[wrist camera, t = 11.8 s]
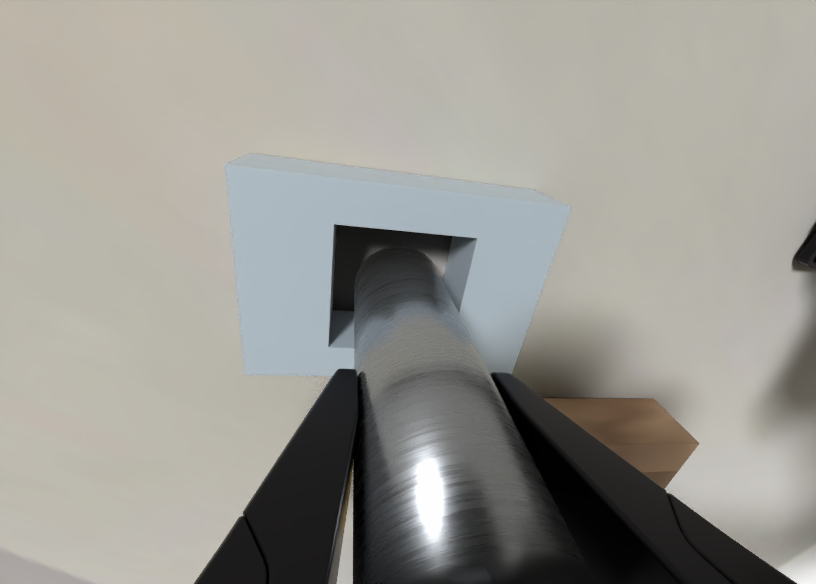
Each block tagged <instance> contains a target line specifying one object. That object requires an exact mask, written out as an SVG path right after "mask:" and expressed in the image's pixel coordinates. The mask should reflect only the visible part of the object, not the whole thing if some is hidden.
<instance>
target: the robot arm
mask: <svg viewBox="0 0 816 584" xmlns="http://www.w3.org/2000/svg"><path fill="white" fill-rule="evenodd" d="M798 262H799V263H800V264H802V265H805V266H808V267H811V268H816V232H815V234H814V235H813V237H812V238H811V239H810V241H809V242H808V244H807V245H806V246H805V248H804V249H803V251H802V252H801V254H800V255H799V257H798ZM490 375H491V377H492V379H493V381H494V383H495V385H496V387H497V389H498V391H499V393H500V395H501V397H502V399H503V401H504V403H505V405H506V407H507V409H508V411H509V413H510V415H511V417H512V419H513V421H514V423H515V425H516V427H517V429H518V431H519V433H520V435H521V437H522V438H523V440H524V442H525V444H526V446H527V448H528V450H529V452H530V454H531V456H532V458H533V460H534V462H535V464H536V466H537V468H538V470H539V472H540V474H541V476H542V478H543V480H544V482H545V484H546V486H547V488H548V490H549V492H550V494H551V496H552V498H553V500H554V502H555V503H556V505H557V507H558V509H559V511H560V513H561V515H562V517H563V519H564V521H565V523H566V525H567V527H568V529H569V531H570V533H571V535H572V537H573V539H574V541H575V543H576V545H577V547H578V549H579V551H580V553H581V555H582V557H583V559H584V561H585V563H586V565H587V567H588V568H589V570H590V573H591V575H592V577H593V584H797V583H795V582H794V581H793V580H791V579H790V578H788V577H787V576H785V575H784V574H782V573H781V572H779V571H778V570H776V569H775V568H773V567H772V566H771V565H769V564H768V563H766V562H765V561H763V560H762V559H760V558H759V557H758V556H756V555H755V554H753V553H752V552H750V551H749V550H747V549H746V548H745V547H743V546H742V545H740V544H739V543H737V542H736V541H734V540H733V539H732V538H730V537H729V536H727V535H726V534H725V533H723V532H722V531H720V530H719V529H718V528H716V527H715V526H714V525H712V524H711V523H710V522H708V521H707V520H705V519H704V518H703V517H701V516H700V515H699V514H697V513H696V512H694V511H693V510H692V509H690V508H689V507H688V506H686V505H685V504H684V503H682V502H681V501H680V500H678V499H677V498H676V497H674V496H673V495H672V494H670V493H667V492H666V490H665V489H664V488H662V487H661V486H660V485H658V484H657V483H656V482H654V481H653V480H652V479H650V478H649V477H648V476H646V475H645V474H644V473H642V472H641V471H640V470H638V469H637V468H636V467H634V466H633V465H632V464H630V463H629V462H628V461H626V460H625V459H623V458H622V457H621V456H619V455H618V454H617V453H615V452H614V451H613V450H611V449H610V448H609V447H607V446H606V445H605V444H603V443H602V442H601V441H599V440H598V439H597V438H595V437H594V436H593V435H591V434H590V433H589V432H587V431H586V430H585V429H583V428H582V427H581V426H579V425H578V424H577V423H575V422H574V421H573V420H571V419H570V418H569V417H567V416H566V415H565V414H563V413H562V412H561V411H559V410H558V409H557V408H555V407H554V406H553V405H551V404H550V403H549V402H547V401H546V400H545V399H543V398H542V397H541V396H539V395H538V394H537V393H535V392H534V391H533V390H531V389H530V388H529V387H527V386H526V385H525V384H523V383H522V382H521V381H519V380H518V379H517V378H515V377H514V376H513V375H511V374H510V373H507V372H492V373H491V374H490ZM357 420H358V383H357V371H356V370H355V369H338V370H336V372H335V373H334V375H333V376H332V378H331V379H330V381H329V382H328V384H327V385H326V387H325V388H324V390H323V391H322V393H321V394H320V396H319V397H318V399H317V400H316V402H315V403H314V405H313V406H312V408H311V409H310V411H309V412H308V414H307V416H306V417H305V419H304V420H303V422H302V423H301V425H300V426H299V428H298V429H297V431H296V432H295V434H294V435H293V437H292V438H291V440H290V441H289V443H288V444H287V446H286V447H285V449H284V450H283V452H282V453H281V455H280V456H279V458H278V459H277V461H276V463H275V464H274V466H273V467H272V469H271V470H270V472H269V473H268V475H267V476H266V478H265V479H264V481H263V482H262V484H261V485H260V487H259V488H258V490H257V491H256V493H255V494H254V496H253V497H252V499H251V500H250V502H249V503H248V505H247V507H246V508H245V510H244V511H243V516H241V517H239V518H238V520H237V521H236V523H235V524H234V526H233V527H232V529H231V530H230V532H229V533H228V535H227V536H226V538H225V539H224V541H223V542H222V544H221V545H220V547H219V548H218V550H217V551H216V553H215V554H214V555H213V557H212V558H211V560H210V561H209V563H208V564H207V565H206V567H205V568H204V570H203V571H202V573H201V574H200V575H199V577H198V578H197V580H196V581H195V583H194V584H336V582H337V575H338V568H339V562H340V555H341V548H342V541H343V534H344V527H345V521H346V514H347V507H348V500H349V493H350V485H351V476H352V467H353V458H354V448H355V439H356V430H357Z"/></svg>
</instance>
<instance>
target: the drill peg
mask: <svg viewBox="0 0 816 584" xmlns="http://www.w3.org/2000/svg"><path fill="white" fill-rule="evenodd" d="M354 369H355V370H356V371H357V383H358V420H357V430H356V439H355V448H354V479H353V584H593V577H592V575H591V573H590V570H589V568H588V567H587V565H586V563H585V561H584V559H583V557H582V555H581V553H580V551H579V549H578V547H577V545H576V543H575V541H574V539H573V537H572V535H571V533H570V531H569V529H568V527H567V525H566V523H565V521H564V519H563V517H562V515H561V513H560V511H559V509H558V507H557V505H556V503H555V502H554V500H553V498H552V496H551V494H550V492H549V490H548V488H547V486H546V484H545V482H544V480H543V478H542V476H541V474H540V472H539V470H538V468H537V466H536V464H535V462H534V460H533V458H532V456H531V454H530V452H529V450H528V448H527V446H526V444H525V442H524V440H523V438H522V437H521V435H520V433H519V431H518V429H517V427H516V425H515V423H514V421H513V419H512V417H511V415H510V413H509V411H508V409H507V407H506V405H505V403H504V401H503V399H502V397H501V395H500V393H499V391H498V389H497V387H496V385H495V383H494V381H493V379H492V377H491V375H490V374H489V372H488V370H487V368H486V366H485V364H484V362H483V360H482V358H481V356H480V354H479V352H478V350H477V348H476V346H475V344H474V342H473V340H472V338H471V336H470V334H469V332H468V330H467V328H466V326H465V324H464V322H463V320H462V318H461V316H460V314H459V312H458V310H457V309H456V307H455V305H454V303H453V301H452V299H451V297H450V295H449V293H448V291H447V289H446V287H445V285H444V283H443V281H442V279H441V277H440V275H439V273H438V271H437V269H436V267H435V265H434V264H433V262H432V261H431V260H430V259H429V258H428V257H427V256H426V255H425V254H423V253H422V252H420V251H418V250H416V249H413V248H410V247H404V246H394V247H388V248H385V249H382V250H379V251H377V252H375V253H374V254H372V255H371V256H369V257H368V258H367V259H366V260H365V261H364V262H363V264H362V265H361V266H360V268H359V270H358V272H357V274H356V278H355V283H354Z"/></svg>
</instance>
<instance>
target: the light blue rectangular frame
mask: <svg viewBox="0 0 816 584" xmlns="http://www.w3.org/2000/svg"><path fill="white" fill-rule="evenodd" d="M225 171H226V182H227V193H228V203H229V214H230V224H231V235H232V245H233V256H234V266H235V277H236V288H237V298H238V309H239V319H240V330H241V340H242V351H243V361H244V372H245V375H282V376H333V375H334V373H335V372H336V370H338V369H354V311H337V310H332V308H333V288H334V268H335V247H336V227H337V225H346V226H356V227H367V228H377V229H387V230H398V231H408V232H418V233H429V234H439V235H449V236H452V241H451V246H450V250H449V255H448V260H447V265H446V269H445V274H444V279H443V283H444V285H445V287H446V289H447V291H448V293H449V295H450V297H451V299H452V301H453V303H454V305H455V307H456V309H457V310H458V312H459V314H460V316H461V318H462V320H463V322H464V324H465V326H466V328H467V330H468V332H469V334H470V336H471V338H472V340H473V342H474V344H475V346H476V348H477V350H478V352H479V354H480V356H481V358H482V360H483V362H484V364H485V366H486V368H487V370H488V372H489V374H491V373H492V372H507V373H510V374H511V375H512V372H513V369H514V366H515V364H516V361H517V358H518V355H519V353H520V350H521V347H522V344H523V341H524V339H525V336H526V333H527V330H528V328H529V325H530V322H531V319H532V316H533V314H534V311H535V308H536V305H537V303H538V300H539V297H540V294H541V292H542V289H543V286H544V283H545V280H546V278H547V275H548V272H549V269H550V267H551V264H552V261H553V258H554V255H555V253H556V250H557V247H558V244H559V242H560V239H561V236H562V233H563V230H564V228H565V225H566V222H567V219H568V217H569V214H570V211H571V208H572V206H569V205H567V204H565V203H563V202H561V201H558V200H556V199H554V198H552V197H549V196H547V195H545V194H543V193H541V192H538V191H536V190H531V189H524V188H516V187H508V186H501V185H493V184H485V183H477V182H470V181H462V180H454V179H446V178H439V177H431V176H423V175H416V174H408V173H400V172H392V171H385V170H377V169H369V168H361V167H354V166H346V165H338V164H330V163H323V162H315V161H307V160H300V159H292V158H284V157H276V156H269V155H261V154H253V153H250V154H248V155H245V156H243V157H241V158H238V159H236V160H234V161H231V162H229V163H227V164H225Z"/></svg>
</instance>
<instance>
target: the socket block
mask: <svg viewBox="0 0 816 584" xmlns="http://www.w3.org/2000/svg"><path fill="white" fill-rule="evenodd" d="M543 399H545V400H546V401H547V402H549V403H550V404H551V405H553V406H554V407H555V408H557V409H558V410H559V411H561V412H562V413H563V414H565V415H566V416H567V417H569V418H570V419H571V420H573V421H574V422H575V423H577V424H578V425H579V426H581V427H582V428H583V429H585V430H586V431H587V432H589V433H590V434H591V435H593V436H594V437H595V438H597V439H598V440H599V441H601V442H602V443H603V444H605V445H606V446H607V447H609V448H610V449H611V450H613V451H614V452H615V453H617V454H618V455H619V456H621V457H622V458H623V459H625V460H626V461H628V462H629V463H630V464H632V465H633V466H634V467H636V468H637V469H638V470H640V471H641V472H642V473H644V474H645V475H646V476H648V477H649V478H650V479H652V480H653V481H654V482H656V483H657V484H658V485H660V486H661V487H662V488H664V489H665V487H666V486H667V485H668V484H669V482H670V481H671V480H672V478H673V477H674V476H675V474H676V473H677V472H678V471H679V469H680V468H681V467H682V465H683V464H684V463H685V462H686V460H687V459H688V458H689V456H690V455H691V454H692V452H693V451H694V450H695V449H696V447H697V446H698V445H699V443H698V442H697V441H696V440H695V439H694V438H693V437H692V436H691V435H690V434H689V433H688V432H687V431H686V430H685V429H684V428H683V427H682V426H681V425H680V424H679V423H678V422H677V421H676V420H675V419H674V418H673V417H672V416H671V415H670V414H669V413H668V412H667V411H666V410H664V409H663V408H662V407H661V406H660V405H659V404H658V403H657V402H656V401H655V400H654V399H610V398H543Z"/></svg>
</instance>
